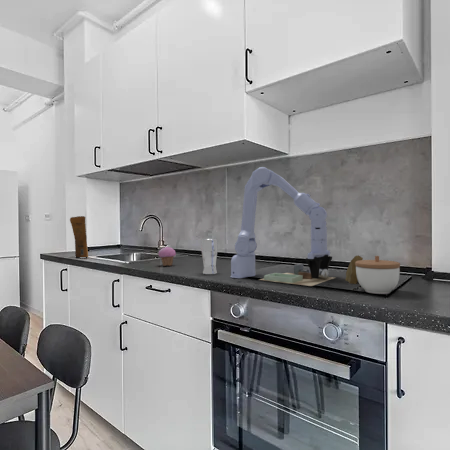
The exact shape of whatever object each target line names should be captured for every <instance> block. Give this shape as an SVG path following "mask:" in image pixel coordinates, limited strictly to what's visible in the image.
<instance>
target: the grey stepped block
mask: <svg viewBox="0 0 450 450" xmlns="http://www.w3.org/2000/svg"><path fill="white" fill-rule="evenodd" d="M306 271H307V269H304V264H303V263H296V264H293V273H294V275H298V272H306Z"/></svg>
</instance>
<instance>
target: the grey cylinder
mask: <svg viewBox="0 0 450 450" xmlns="http://www.w3.org/2000/svg"><path fill="white" fill-rule="evenodd" d="M306 270H307V271H306V272H307V273H311V272H310V268H309V267H308V268H307V269H306ZM328 277H329V269H328V270H327V269H319V277H318V278H319V279H327V278H328Z"/></svg>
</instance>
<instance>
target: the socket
mask: <svg viewBox="0 0 450 450" xmlns="http://www.w3.org/2000/svg"><path fill="white" fill-rule="evenodd" d="M298 275H303V279H312V275H311V273H307V272H298Z"/></svg>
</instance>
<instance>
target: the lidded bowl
mask: <svg viewBox="0 0 450 450" xmlns="http://www.w3.org/2000/svg"><path fill="white" fill-rule="evenodd" d="M355 265H356V275H357V280H358V282H357V283H358V284H359V285H360V287H361V288H362V289H364V291H365V292H366V293H367V294H368V293H369V294H376V295H387V294H391V292H392V291H393V290H394V289H395V288H396V287H397V285H398V283H399V280H400V275H401V274H400V273H401V270H400V269H401V262H398V261H395V260H388V259H387V260H385V259H380V255H375V256H374V259H363V260H360V261H356V262H355Z"/></svg>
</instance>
